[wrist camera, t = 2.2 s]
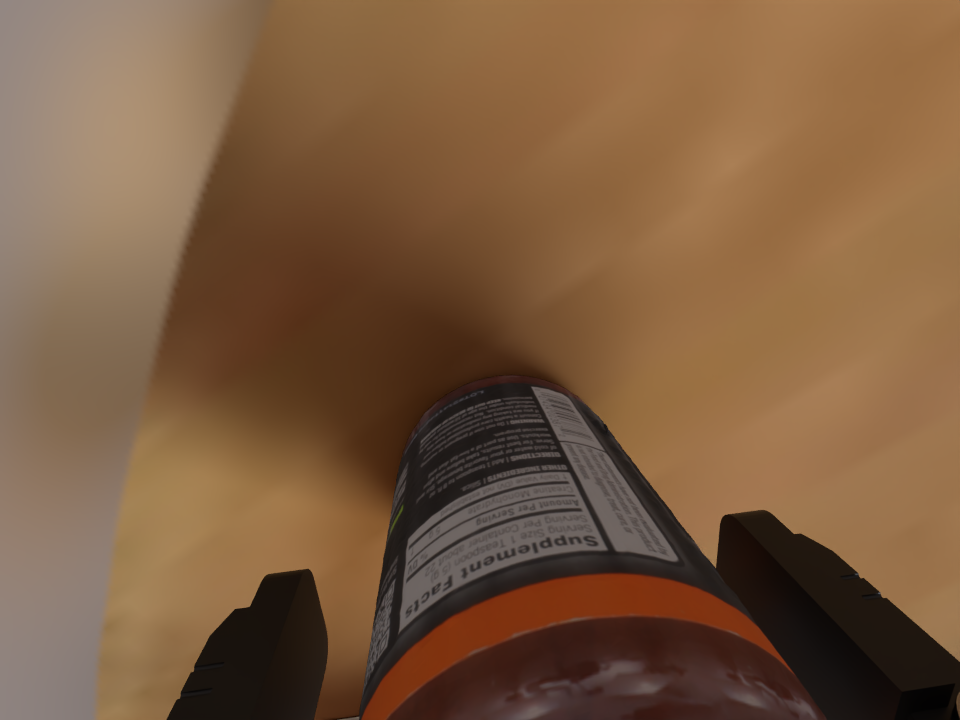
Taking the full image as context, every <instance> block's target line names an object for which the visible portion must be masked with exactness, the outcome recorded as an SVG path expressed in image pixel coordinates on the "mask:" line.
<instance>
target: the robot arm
mask: <svg viewBox="0 0 960 720" xmlns="http://www.w3.org/2000/svg"><path fill="white" fill-rule="evenodd" d="M716 570H717V571H718V573H719V575H720V576H721V578H722V579H723V581H724V583H725V584H726V585H727V586H728V587H730V588H731V589H732V590H733V591H734V593H735V594H736V595H737V596H738V598H739V599H740V601H741V603H742V604H743V605H744V606H745V608H746V609H747V610H748V612H749V614H750V615H751V617H752V618H753V620H754V621H755V623H756V624H757V626H758V627H759V628H760V629H761V631H762V632H763V633H764V635H765V636H766V637H767V638H768V640H769V641H770V642H771V644H772V645H773V646H774V648H775V649H776V651H777V652H778V653H779V655H780V656H781V657H782V658H783V660H784V661H785V662H786V664H787V665H788V666H789V668H790V669H791V670H792V672H793V673H794V674H795V675H796V677H797V678H798V679H799V681H800V682H801V684H802V685H803V686H804V688H805V689H806V690H807V692H808V693H809V695H810V696H811V697H812V699H813V700H814V702H815V703H816V705H817V706H818V707H819V709H820V710H821V711H822V713H823V714H824V715H825V717H826V719H827V720H960V662H959V661H958V660H957V659H956V658H955V657H953V656H952V655H951V654H950V653H949V652H948V651H946V650H945V649H944V648H943V647H942V646H941V645H940V644H938V643H937V642H936V641H935V640H934V639H933V638H932V637H930V636H929V635H928V634H927V633H926V632H925V631H924V630H922V629H921V628H920V627H919V626H918V625H917V624H916V623H914V622H913V621H912V620H911V619H910V618H909V617H908V616H906V615H905V614H904V613H903V612H902V611H901V610H900V609H898V608H897V607H896V606H895V605H894V604H893V603H892V602H890V601H889V600H888V599H887V598H882V596H881V594H880V592H879V591H878V590H877V589H876V588H874V587H873V586H872V585H871V584H870V583H869V582H868V581H866V580H865V579H864V578H860V577H859V575H858V573H857V572H856V571H855V570H854V569H853V568H852V567H850V566H849V565H848V564H847V563H846V562H845V561H844V560H842V559H841V558H840V557H839V556H838V555H837V554H836V553H834V552H833V551H832V550H830V549H828V548H826V547H824V546H823V545H821V544H819V543H817V542H815V541H814V540H812V539H810V538H808V537H806V536H804V535H803V534H793V533H792V532H791V531H790V530H789V529H788V528H787V527H786V526H785V525H783V524H782V523H781V522H780V521H779V520H778V519H777V518H776V517H775V516H774V515H772V514H771V513H770V512H768V511H765V510H758V511H750V512H743V513H735V514H728V515H725V516H723V518H722V520H721V523H720V532H719V543H718V553H717V564H716ZM327 655H328V638H327V630H326V625H325V621H324V617H323V613H322V609H321V605H320V601H319V597H318V593H317V589H316V585H315V581H314V577H313V574H312V572H311V571H310V570H309V569H303V570H296V571H288V572H281V573H273V574H268V575H266V576H265V577H264V578H263V580H262V582H261V584H260V586H259V588H258V590H257V593H256V595H255V597H254V599H253V601H252V604H251V606H250V607H247V608H240V609H235V610H234V611H233V612H232V613H231V614H230V615H229V616H228V617H227V618H226V619H225V620H224V621H223V623H222V624H221V625H220V626H219V627H218V628H217V629H216V630H215V631H214V632H213V633H212V634H211V635H210V637H209V639H208V641H207V643H206V645H205V647H204V648H203V650H202V652H201V654H200V656H199V658H198V660H197V662H196V664H195V666H194V672H191V673H190V675H189V677H188V679H187V681H186V683H185V685H184V687H183V689H182V691H181V697H180V699H177V700H176V702H175V704H174V706H173V708H172V710H171V712H170V714H169V716H168V718H167V720H314V716H315V712H316V708H317V703H318V699H319V695H320V691H321V686H322V682H323V678H324V673H325V669H326V664H327Z"/></svg>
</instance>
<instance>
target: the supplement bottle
mask: <svg viewBox="0 0 960 720" xmlns="http://www.w3.org/2000/svg"><path fill="white" fill-rule="evenodd" d="M359 720H827V719H826V717H825V715H824V714H823V713H822V711H821V710H820V709H819V707H818V706H817V705H816V703H815V702H814V700H813V699H812V697H811V696H810V695H809V693H808V692H807V690H806V689H805V688H804V686H803V685H802V684H801V682H800V681H799V679H798V678H797V677H796V675H795V674H794V673H793V672H792V670H791V669H790V668H789V666H788V665H787V664H786V662H785V661H784V660H783V658H782V657H781V656H780V655H779V653H778V652H777V651H776V649H775V648H774V646H773V645H772V644H771V642H770V641H769V640H768V638H767V637H766V636H765V635H764V633H763V632H762V631H761V629H760V628H759V627H758V626H757V624H756V623H755V621H754V620H753V618H752V617H751V615H750V614H749V612H748V610H747V609H746V608H745V606H744V605H743V604H742V603H741V601H740V599H739V598H738V596H737V595H736V594H735V593H734V591H733V590H732V589H731V588H730V587H728V586H727V585H726V584H725V583H724V581H723V579H722V578H721V576H720V575H719V573H718V571H717V570H716V568H715V567H714V566H713V565H712V563H711V562H710V561H709V560H708V558H707V557H706V556H705V555H704V554H703V553H702V552H701V550H700V549H699V547H698V546H697V544H696V543H695V542H694V540H693V539H692V538H691V536H690V535H689V534H688V533H687V532H686V531H685V529H684V528H683V527H682V525H681V524H680V523H679V522H678V521H677V519H676V517H675V516H674V514H673V513H672V511H671V510H670V509H669V508H668V506H667V505H666V504H665V502H664V501H663V500H662V499H661V498H660V497H659V495H658V494H657V492H656V491H655V490H654V489H653V487H652V486H651V485H650V483H649V482H648V481H647V480H646V478H645V477H644V476H643V475H642V473H641V472H640V471H639V469H638V468H637V466H636V465H635V464H634V463H633V462H632V460H631V458H630V457H629V456H628V455H627V454H626V452H625V451H624V450H623V449H622V447H621V445H620V444H619V443H618V442H617V440H616V439H615V438H614V436H613V434H612V433H611V432H610V431H609V430H608V428H607V426H606V424H604V423H603V421H602V420H601V419H600V418H599V416H597V415H596V414H595V413H594V412H593V411H592V410H591V409H590V408H589V407H588V406H587V405H586V404H585V403H584V402H583V401H582V400H581V399H580V398H579V397H578V396H576V395H574V394H572V393H571V392H570V391H568V390H567V389H565V388H563V387H561V386H558V385H556V384H554V383H551V382H548V381H545V380H542V379H537V378H533V377H528V376H520V375H506V376H496V377H490V378H486V379H481V380H477V381H474V382H472V383H469V384H466V385H463V386H461V387H459V388H458V389H456V390H454V391H452V392H450V393H449V394H447V395H445V396H444V397H443V398H441V399H440V400H439V401H437V402H436V403H435V404H434V405H433V406H432V407H431V408H429V409H428V410H427V411H426V412H425V413H424V415H423V416H422V417H421V419H420V421H419V422H418V424H417V425H416V427H415V428H414V429H413V431H412V433H411V435H410V437H409V438H408V440H407V443H406V446H405V449H404V451H403V455H402V459H401V462H400V465H399V470H398V474H397V479H396V487H395V492H394V499H393V505H392V511H391V517H390V524H389V529H388V535H387V541H386V549H385V553H384V558H383V567H382V573H381V579H380V584H379V591H378V597H377V603H376V611H375V617H374V623H373V631H372V638H371V644H370V650H369V656H368V662H367V668H366V674H365V682H364V688H363V695H362V701H361V706H360V712H359Z"/></svg>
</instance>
